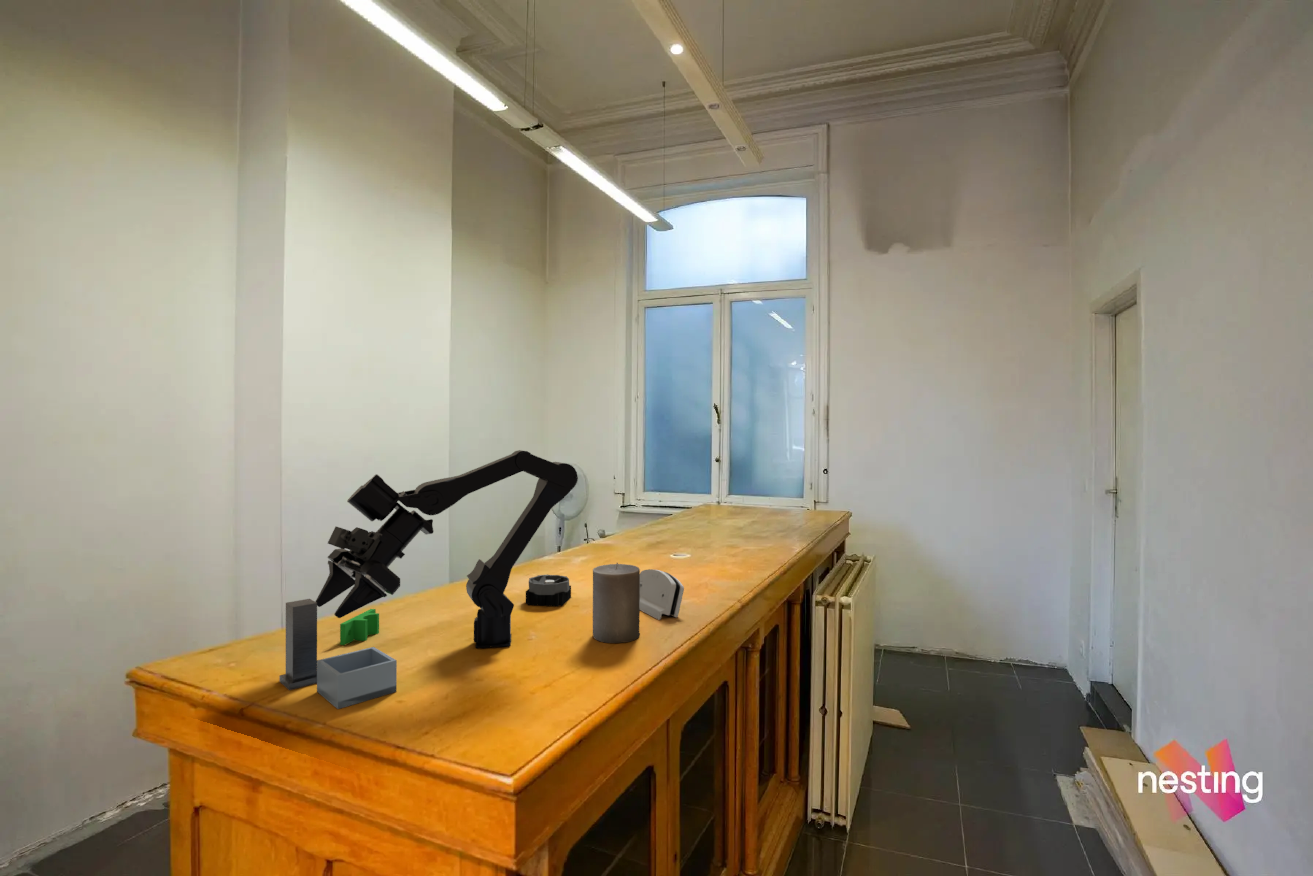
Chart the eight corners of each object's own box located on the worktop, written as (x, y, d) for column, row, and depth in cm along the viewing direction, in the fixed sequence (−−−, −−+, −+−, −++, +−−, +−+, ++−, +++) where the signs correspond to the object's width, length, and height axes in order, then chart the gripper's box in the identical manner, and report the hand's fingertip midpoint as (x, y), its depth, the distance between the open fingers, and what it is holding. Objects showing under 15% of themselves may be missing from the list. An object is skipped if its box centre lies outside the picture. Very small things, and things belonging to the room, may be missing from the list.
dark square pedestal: (312, 673, 107) (312, 597, 107) (323, 681, 104) (323, 602, 103) (279, 681, 103) (279, 602, 103) (289, 690, 100) (289, 608, 100)
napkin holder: (624, 602, 153) (637, 562, 155) (640, 606, 155) (653, 566, 157) (659, 620, 139) (672, 576, 140) (676, 624, 141) (689, 581, 142)
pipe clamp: (357, 646, 121) (356, 624, 121) (340, 646, 121) (339, 624, 121) (386, 629, 131) (386, 608, 131) (370, 628, 132) (370, 608, 131)
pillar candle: (649, 634, 129) (649, 561, 129) (618, 647, 121) (619, 569, 121) (612, 625, 135) (613, 555, 134) (581, 637, 127) (582, 563, 127)
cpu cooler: (562, 584, 148) (521, 582, 149) (562, 608, 148) (521, 606, 149) (574, 574, 158) (535, 573, 159) (574, 597, 158) (535, 595, 159)
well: (373, 676, 106) (373, 646, 106) (396, 691, 100) (396, 660, 100) (316, 691, 99) (317, 660, 99) (337, 709, 93) (337, 675, 93)
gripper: (340, 504, 116) (271, 573, 108) (382, 514, 103) (308, 593, 96) (382, 542, 122) (320, 609, 114) (427, 556, 109) (361, 633, 101)
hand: (326, 610), depth 106 cm, fingers open, 9 cm apart
